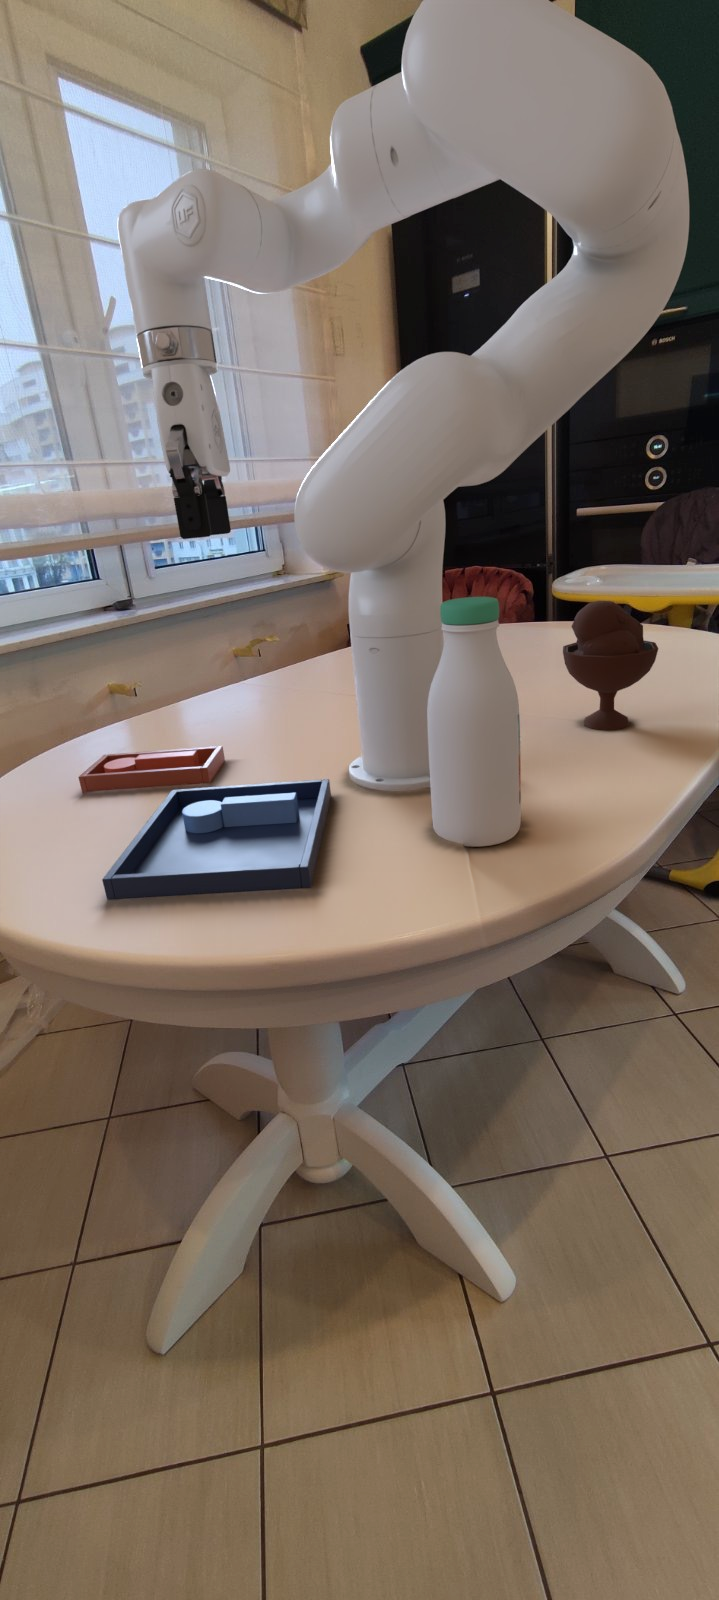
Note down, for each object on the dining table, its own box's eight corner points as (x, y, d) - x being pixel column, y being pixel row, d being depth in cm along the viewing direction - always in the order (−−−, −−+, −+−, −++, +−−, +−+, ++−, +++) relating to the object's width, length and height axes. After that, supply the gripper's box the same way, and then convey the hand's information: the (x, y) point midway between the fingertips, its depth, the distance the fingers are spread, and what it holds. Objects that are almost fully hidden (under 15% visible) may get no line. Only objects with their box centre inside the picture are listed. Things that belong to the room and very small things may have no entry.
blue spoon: (300, 810, 71) (297, 788, 70) (295, 827, 67) (292, 803, 66) (191, 818, 72) (186, 795, 71) (180, 835, 68) (175, 811, 67)
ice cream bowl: (642, 740, 83) (650, 606, 77) (547, 731, 89) (548, 606, 83) (663, 715, 91) (671, 592, 85) (575, 709, 97) (577, 593, 91)
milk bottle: (520, 849, 60) (519, 603, 53) (428, 849, 62) (414, 609, 54) (520, 812, 67) (519, 590, 60) (437, 813, 69) (426, 596, 61)
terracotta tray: (225, 763, 89) (222, 745, 88) (210, 786, 81) (207, 767, 81) (108, 772, 90) (104, 754, 89) (82, 795, 83) (77, 776, 82)
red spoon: (202, 766, 87) (199, 747, 86) (194, 777, 83) (190, 758, 82) (114, 772, 88) (109, 754, 87) (101, 784, 84) (97, 765, 83)
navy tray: (331, 799, 74) (329, 778, 74) (311, 893, 56) (308, 866, 56) (176, 810, 76) (172, 789, 75) (108, 904, 58) (101, 879, 57)
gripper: (193, 333, 65) (224, 535, 71) (231, 368, 81) (254, 530, 87) (112, 343, 66) (150, 543, 72) (166, 376, 82) (193, 536, 88)
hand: (207, 535), depth 80 cm, fingers open, 9 cm apart
